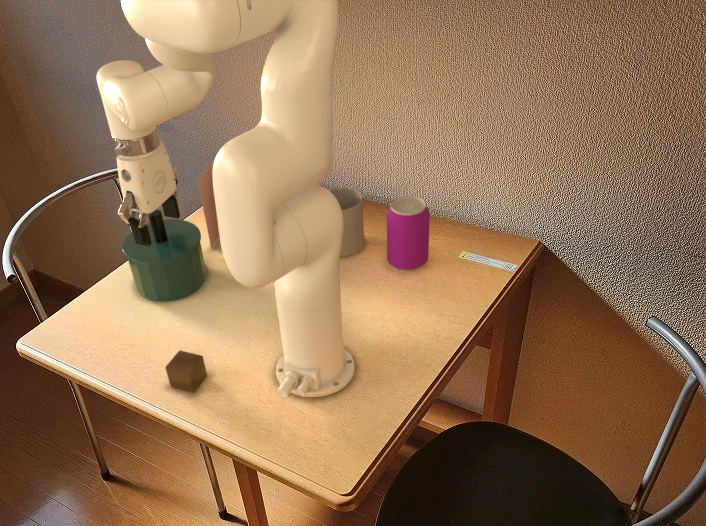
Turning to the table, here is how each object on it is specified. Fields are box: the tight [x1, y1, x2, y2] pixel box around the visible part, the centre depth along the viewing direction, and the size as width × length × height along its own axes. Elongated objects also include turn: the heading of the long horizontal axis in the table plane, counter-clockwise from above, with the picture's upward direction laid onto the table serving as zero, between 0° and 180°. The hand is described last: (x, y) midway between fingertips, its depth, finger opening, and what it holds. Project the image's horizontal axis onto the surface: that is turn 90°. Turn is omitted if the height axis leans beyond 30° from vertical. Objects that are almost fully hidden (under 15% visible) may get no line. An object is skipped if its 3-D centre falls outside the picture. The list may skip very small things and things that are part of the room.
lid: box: [121, 209, 202, 265], centre depth 134 cm, size 15×15×7 cm
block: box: [165, 349, 208, 394], centre depth 118 cm, size 4×4×4 cm
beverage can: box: [386, 195, 431, 272], centre depth 134 cm, size 8×8×12 cm
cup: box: [328, 187, 365, 257], centre depth 141 cm, size 8×8×10 cm
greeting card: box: [197, 156, 220, 251], centre depth 146 cm, size 11×7×15 cm, turn 164°
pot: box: [127, 242, 207, 302], centre depth 139 cm, size 14×14×8 cm
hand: (158, 230), depth 134 cm, fingers open, 9 cm apart
